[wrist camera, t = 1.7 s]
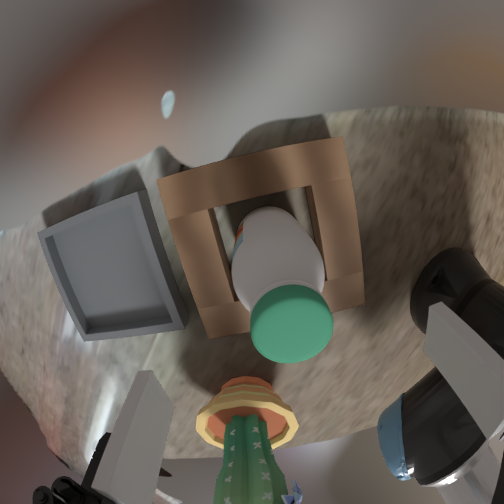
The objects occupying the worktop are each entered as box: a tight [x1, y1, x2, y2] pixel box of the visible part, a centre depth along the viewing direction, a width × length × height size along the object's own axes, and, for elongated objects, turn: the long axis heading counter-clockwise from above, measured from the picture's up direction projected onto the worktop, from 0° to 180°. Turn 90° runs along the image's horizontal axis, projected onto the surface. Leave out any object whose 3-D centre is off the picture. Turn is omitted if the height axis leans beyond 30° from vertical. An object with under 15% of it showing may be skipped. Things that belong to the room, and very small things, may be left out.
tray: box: [38, 189, 189, 341], centre depth 33 cm, size 18×18×3 cm
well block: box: [157, 136, 365, 339], centre depth 31 cm, size 20×20×4 cm
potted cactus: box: [196, 376, 303, 504], centre depth 29 cm, size 15×16×25 cm
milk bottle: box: [232, 206, 333, 363], centre depth 23 cm, size 8×8×20 cm
